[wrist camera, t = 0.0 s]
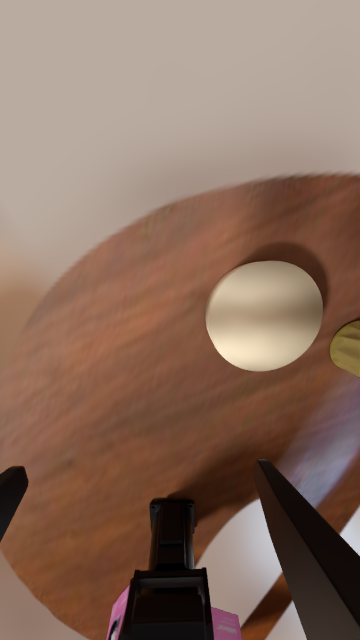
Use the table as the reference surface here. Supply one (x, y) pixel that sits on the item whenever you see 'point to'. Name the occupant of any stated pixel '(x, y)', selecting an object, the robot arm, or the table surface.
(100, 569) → the table surface
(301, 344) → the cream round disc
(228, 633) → the gum box
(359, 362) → the vase
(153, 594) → the robot arm
